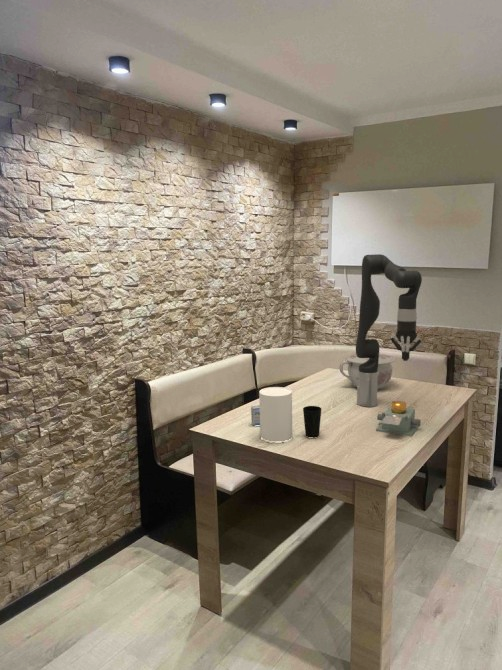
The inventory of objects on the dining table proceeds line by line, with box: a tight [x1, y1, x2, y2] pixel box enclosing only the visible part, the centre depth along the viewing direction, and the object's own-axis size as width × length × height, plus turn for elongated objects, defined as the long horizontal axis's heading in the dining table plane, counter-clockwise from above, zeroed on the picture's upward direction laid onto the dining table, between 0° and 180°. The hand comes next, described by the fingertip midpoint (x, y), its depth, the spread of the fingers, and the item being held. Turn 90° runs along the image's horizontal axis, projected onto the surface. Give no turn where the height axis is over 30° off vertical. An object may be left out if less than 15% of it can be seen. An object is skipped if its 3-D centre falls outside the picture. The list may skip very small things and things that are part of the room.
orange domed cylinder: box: [390, 400, 407, 414], centre depth 217 cm, size 6×6×10 cm
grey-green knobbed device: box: [375, 405, 422, 437], centre depth 217 cm, size 18×18×8 cm
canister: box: [258, 386, 293, 441], centre depth 207 cm, size 14×14×20 cm
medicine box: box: [250, 404, 260, 425], centre depth 224 cm, size 8×4×9 cm, turn 105°
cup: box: [302, 405, 322, 438], centre depth 209 cm, size 8×8×12 cm
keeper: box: [381, 414, 403, 425], centre depth 207 cm, size 7×1×8 cm
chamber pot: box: [338, 353, 396, 391], centre depth 280 cm, size 28×28×21 cm
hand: (405, 360), depth 208 cm, fingers closed
